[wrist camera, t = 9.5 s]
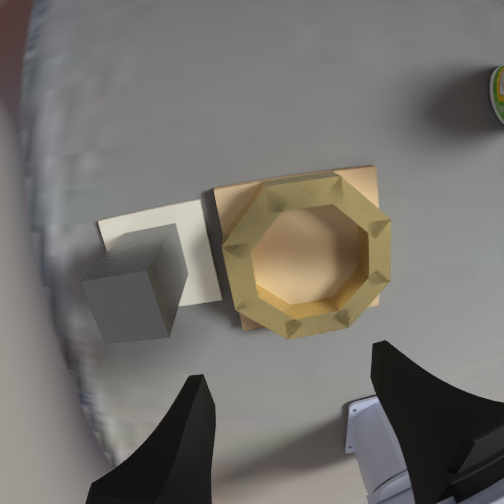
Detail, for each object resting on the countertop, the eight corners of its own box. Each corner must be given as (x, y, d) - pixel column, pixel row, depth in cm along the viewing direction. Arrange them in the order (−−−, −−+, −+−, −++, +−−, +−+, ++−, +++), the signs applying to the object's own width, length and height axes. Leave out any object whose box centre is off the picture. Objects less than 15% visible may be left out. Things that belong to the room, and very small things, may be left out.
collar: (379, 305, 22) (388, 318, 20) (242, 331, 22) (243, 346, 21) (376, 166, 18) (388, 170, 17) (213, 189, 19) (210, 196, 17)
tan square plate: (375, 299, 23) (378, 305, 22) (243, 324, 23) (243, 330, 22) (370, 164, 19) (376, 166, 18) (214, 187, 19) (213, 190, 19)
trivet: (222, 297, 22) (222, 300, 22) (130, 310, 22) (128, 313, 22) (200, 198, 20) (199, 199, 19) (100, 219, 20) (97, 221, 19)
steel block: (175, 222, 20) (146, 270, 13) (188, 273, 21) (169, 337, 14) (125, 233, 20) (79, 281, 13) (140, 281, 21) (105, 343, 14)
